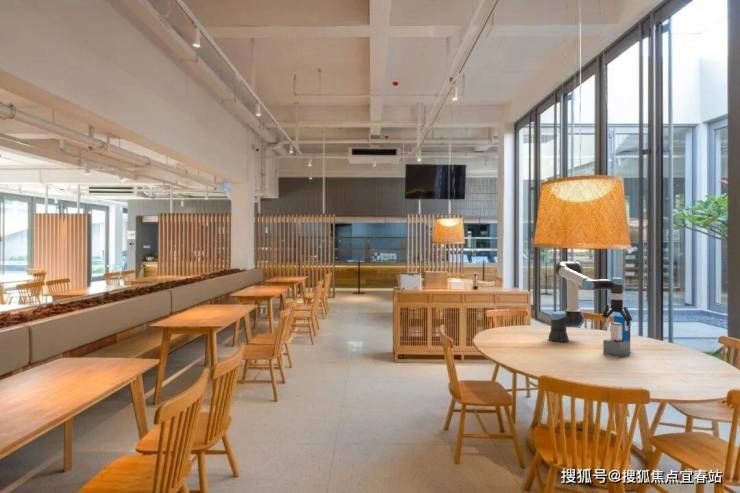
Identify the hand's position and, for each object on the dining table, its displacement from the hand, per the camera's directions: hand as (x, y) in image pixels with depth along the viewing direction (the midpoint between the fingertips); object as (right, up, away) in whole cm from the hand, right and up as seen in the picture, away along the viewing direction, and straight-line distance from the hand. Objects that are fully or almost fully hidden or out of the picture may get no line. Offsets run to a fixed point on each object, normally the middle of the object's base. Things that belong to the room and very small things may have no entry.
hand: (616, 328), depth 298 cm
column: (0, -19, 0) cm, 19 cm away
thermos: (+13, -19, +16) cm, 28 cm away
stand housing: (0, -19, 0) cm, 19 cm away
